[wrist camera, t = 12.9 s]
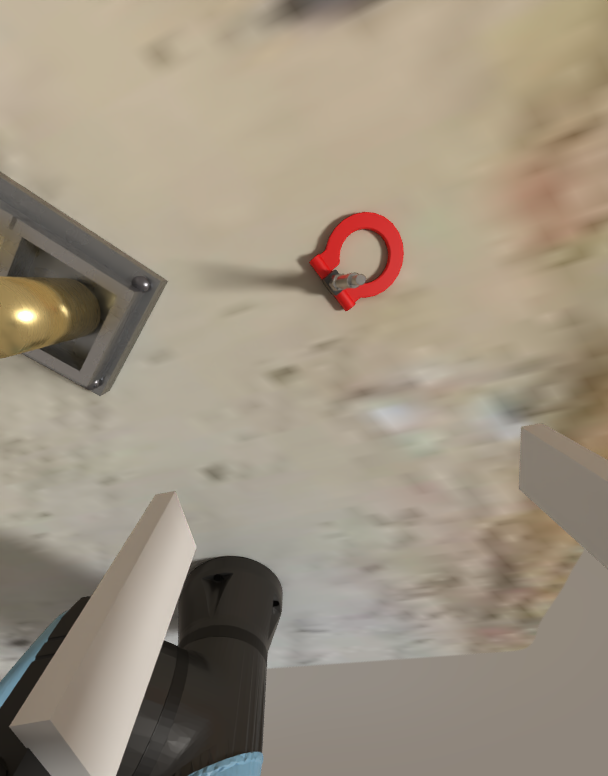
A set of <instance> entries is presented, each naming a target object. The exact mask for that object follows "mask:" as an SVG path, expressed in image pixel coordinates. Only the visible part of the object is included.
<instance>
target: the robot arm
mask: <svg viewBox="0 0 608 776" xmlns="http://www.w3.org/2000/svg"><path fill="white" fill-rule="evenodd" d="M519 489H520V490H521V491H522V492H523V493H524V494H525V495H526V496H527V497H528V498H530V499H531V500H532V501H533V502H534V503H535V504H536V505H537V506H538V507H539V508H541V509H542V510H543V511H544V512H545V513H546V514H547V515H548V516H549V517H551V518H552V519H553V520H554V521H555V522H556V523H557V524H558V525H559V526H560V527H562V528H563V529H564V530H565V531H566V532H567V533H568V534H569V535H570V536H571V537H573V538H574V539H575V540H576V541H577V542H578V543H579V544H580V545H581V546H582V547H584V548H585V549H586V550H587V551H588V552H589V553H590V554H591V555H593V556H594V557H595V558H596V559H597V560H598V561H599V562H600V563H601V564H602V565H603V566H605V567H606V568H607V569H608V460H606V459H605V458H603V457H601V456H599V455H598V454H596V453H594V452H592V451H590V450H589V449H587V448H585V447H583V446H582V445H580V444H578V443H576V442H574V441H573V440H571V439H569V438H567V437H566V436H564V435H562V434H560V433H558V432H557V431H555V430H553V429H551V428H550V427H548V426H546V425H544V424H542V423H540V424H534V425H529V426H524V427H521V445H520V472H519ZM195 550H196V545H195V542H194V539H193V537H192V534H191V531H190V529H189V526H188V523H187V521H186V518H185V515H184V513H183V510H182V507H181V505H180V502H179V499H178V497H177V494H176V491H173V492H167V493H162V494H156V495H155V496H154V498H153V500H152V501H151V503H150V504H149V506H148V507H147V509H146V511H145V512H144V514H143V515H142V517H141V519H140V520H139V522H138V523H137V525H136V526H135V528H134V530H133V531H132V533H131V534H130V536H129V538H128V539H127V541H126V542H125V544H124V545H123V547H122V549H121V550H120V552H119V553H118V555H117V557H116V558H115V560H114V561H113V563H112V564H111V566H110V568H109V569H108V571H107V572H106V574H105V576H104V577H103V579H102V580H101V582H100V583H99V585H98V587H97V588H96V590H95V591H94V593H93V595H92V596H88V597H83V598H81V599H80V600H79V601H78V602H77V603H76V604H75V605H74V606H73V607H72V608H71V609H69V610H67V611H65V612H63V613H62V614H61V615H59V616H58V617H57V618H56V619H55V620H54V621H53V622H52V623H51V624H50V625H49V626H48V627H47V628H46V629H45V631H44V632H43V633H42V634H41V635H40V636H39V637H38V638H37V640H36V641H35V642H34V643H33V644H32V645H31V646H30V648H29V649H28V650H27V651H26V652H25V653H24V655H23V656H22V657H21V658H20V659H19V660H18V661H17V663H16V664H15V665H14V666H13V667H12V669H11V670H10V671H9V672H8V673H7V674H6V676H5V677H4V678H3V679H2V680H1V682H0V776H260V774H261V765H262V763H263V754H262V745H263V727H264V707H265V690H266V671H267V655H268V650H269V647H270V644H271V642H272V639H273V636H274V633H275V630H276V627H277V625H278V622H279V619H280V616H281V612H282V594H283V593H282V587H281V584H280V582H279V580H278V578H277V577H276V575H275V574H274V573H273V572H272V571H271V570H270V569H268V568H267V567H266V566H264V565H262V564H261V563H258V562H256V561H253V560H250V559H247V558H241V557H222V558H217V559H213V560H210V561H208V562H205V563H203V564H202V565H200V566H198V567H197V568H196V569H195V570H193V571H192V572H191V573H190V575H189V576H188V578H187V579H186V576H187V573H188V570H189V567H190V564H191V562H192V559H193V556H194V553H195ZM185 579H186V581H185ZM184 581H185V584H184ZM183 584H184V587H183ZM182 587H183V589H182ZM181 590H182V592H181ZM180 593H181V595H180ZM179 596H180V599H179V610H178V646H176V645H174V644H172V643H169V642H167V641H164V638H165V635H166V632H167V630H168V627H169V624H170V621H171V618H172V615H173V613H174V610H175V607H176V604H177V601H178V598H179Z"/></svg>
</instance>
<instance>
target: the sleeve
mask: <svg viewBox="0 0 608 776" xmlns="http://www.w3.org/2000/svg"><path fill="white" fill-rule="evenodd" d="M100 318H101V311H100V306H99V303H98V301H97V298H96V297H95V295H94V294H93V293H92V291H91V290H90V289H89V288H87V287H86V286H85V285H84V284H82V283H80V282H78V281H76V280H73V279H69V278H45V277H5V276H0V358H5V357H9V356H13V355H17V354H20V353H24V352H28V351H32V350H35V349H39V348H43V347H47V346H50V345H54V344H58V343H62V342H65V341H69V340H73V339H77V338H80V337H84V336H87V335H89V334H91V333H92V332H93V331H94V330H95V329H96V328H97V326H98V324H99V322H100Z"/></svg>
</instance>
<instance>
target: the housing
mask: <svg viewBox="0 0 608 776" xmlns="http://www.w3.org/2000/svg"><path fill="white" fill-rule="evenodd" d="M0 276H5V277H45V278H69V279H73V280H76V281H78V282H80V283H82V284H84V285H85V286H86V287H87V288H89V289H90V290H91V291H92V293H93V294H94V295H95V297H96V298H97V301H98V303H99V306H100V311H101V318H100V322H99V324H98V326H97V328H96V329H95V330H94V331H93V332H92V333H91V334H89V335H87V336H84V337H80V338H77V339H73V340H69V341H65V342H62V343H58V344H54V345H50V346H47V347H43V348H39V349H35V350H32V351H28V352H24V353H22V354H24V355H25V356H27V357H29V358H31V359H33V360H35V361H36V362H38V363H40V364H42V365H44V366H46V367H47V368H49V369H51V370H53V371H55V372H57V373H59V374H60V375H62V376H64V377H66V378H68V379H70V380H71V381H73V382H75V383H77V384H79V385H81V386H83V387H84V388H86V389H88V390H90V391H92V392H94V393H95V394H97V395H99V396H101V395H103V394H105V393H106V392H108V391H110V389H111V387H112V385H113V383H114V381H115V380H116V378H117V376H118V374H119V372H120V370H121V368H122V366H123V365H124V363H125V361H126V359H127V357H128V355H129V353H130V351H131V349H132V348H133V346H134V344H135V342H136V340H137V338H138V336H139V334H140V333H141V331H142V329H143V327H144V325H145V323H146V321H147V319H148V318H149V316H150V314H151V312H152V310H153V308H154V306H155V304H156V302H157V301H158V299H159V297H160V295H161V293H162V291H163V289H164V287H165V286H166V284H167V282H168V281H167V280H165V279H164V278H162V277H161V276H159V275H158V274H156V273H155V272H153V271H152V270H150V269H149V268H147V267H146V266H144V265H142V264H141V263H139V262H138V261H136V260H135V259H133V258H132V257H130V256H129V255H127V254H126V253H124V252H123V251H121V250H119V249H118V248H116V247H115V246H113V245H112V244H110V243H109V242H107V241H106V240H104V239H103V238H101V237H100V236H98V235H96V234H95V233H93V232H92V231H90V230H89V229H87V228H86V227H84V226H83V225H81V224H80V223H78V222H77V221H75V220H73V219H72V218H70V217H69V216H67V215H66V214H64V213H63V212H61V211H60V210H58V209H57V208H55V207H54V206H52V205H50V204H49V203H47V202H46V201H44V200H43V199H41V198H40V197H38V196H37V195H35V194H34V193H32V192H31V191H29V190H28V189H26V188H24V187H23V186H21V185H20V184H18V183H17V182H15V181H14V180H12V179H11V178H9V177H8V176H6V175H5V174H3V173H1V172H0Z"/></svg>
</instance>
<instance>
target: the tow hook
mask: <svg viewBox="0 0 608 776" xmlns="http://www.w3.org/2000/svg"><path fill="white" fill-rule="evenodd" d="M361 229H367V230H372V231H374V232H376V233H377V234H379V235H380V236H381V237H382V239H383V240H384V241H385V243H386V246H387V250H388V260H387V264H386V267H385V269H384V271H383V272H382V274H381V275H380V276H379V277H378V278H377V279H375V280H373V281H371V282H369V283H365V282H366V277H365V276H364V275H363V274H358V273H350V274H339V273H338V272H337V270H333V269H334V268H335V267H336V266H338V265H339V263H340V259H339V257H340V249H341V246H342V244H343V242H344V241H345V239H346V238H347V237H348V236H349V235H350V234H351V233H353V232H355V231H357V230H361ZM403 255H404V252H403V242H402V240H401V237H400V234H399V232H398V230H397V229H396V228H395V226H394V225H393V223H391V222H390V221H389V220H388V219H386V218H385V217H384V216H381V215H379V214H376V213H370V212H362V213H357V214H353V215H351V216H349V217H348V218H346V219H344V220H343V221H342V222H341V223H340V224H339V225H338V226H337V227H336V228H335V229H334V230H333V232H332V234H331V235H330V237H329V239H328V242H327V245H326V248H325V251H324V252H323V253H321V254H318V255H317V256H315V257H314V258H313V259H312V260H311V261H310V262H309V263H310V264H311V266H312V267H313V268H314V270H315V271H316V272H317V274H318V275H319V276H320V278H321V279H322V282H323V283H324V285H325V286H326V287H327V289H328V290H329V291H330V293H331V294H332V295H334V297H335V298H336V299H337V301H338V302H339V303H340V305H341V306H342V307H343V309H344V310H345V311H348V310H349V309H351V308H352V307H353V306H354V305H355V302H356V301H357V300H358V299H359V298H360V297H362V298H366V297H371V296H375V295H377V294H379V293H381V292H383V291H385V290H386V289H387V288H388V287H389V286H390V285H391V284H392V283H393V282H394V280H395V279H396V277H397V276H398V274H399V272H400V269H401V266H402V262H403ZM332 270H333V271H332Z"/></svg>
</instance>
